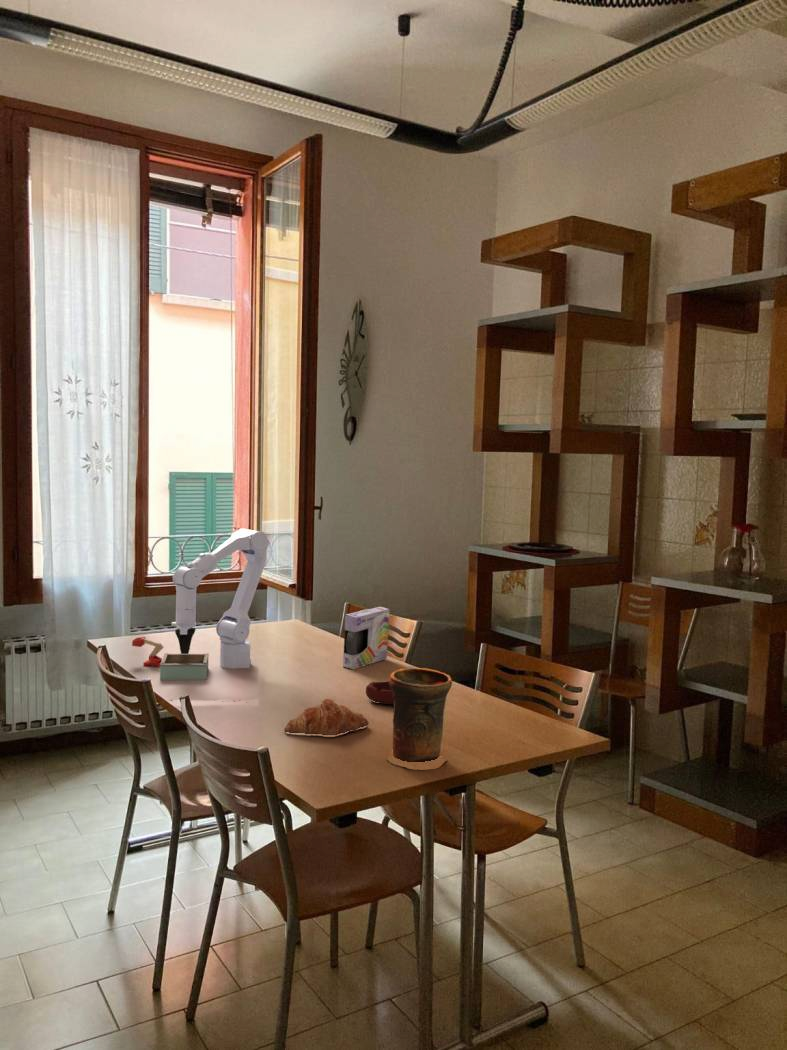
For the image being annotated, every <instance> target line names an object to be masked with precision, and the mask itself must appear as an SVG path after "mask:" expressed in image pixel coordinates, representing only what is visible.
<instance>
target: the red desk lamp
mask: <svg viewBox="0 0 787 1050" xmlns="http://www.w3.org/2000/svg"><path fill="white" fill-rule="evenodd" d="M131 642H132V643H131V644H132V645H131V647H137V648H138V647H139V648H141V647H143V646H144V645H145V644H147V645H150V646H154V648H153V650H151V653H150V654H149V655H148V660H146V661H144V662H143V667H153V668H156V667H157V668H160V664H161V661H162V659H163V657H160V656H158V653H160V652H161V651H162V650H163V649H164V645H162V643H161V642H155V641H153V640H151V639H150V640H149V639H146V636H141V637H136V638H134V639H132V641H131Z"/></svg>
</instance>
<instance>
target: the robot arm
mask: <svg viewBox="0 0 787 1050" xmlns="http://www.w3.org/2000/svg"><path fill="white" fill-rule="evenodd" d="M269 545H270V539H269V537H268V536H267V534H266V533H265V532H264V531H262V530H253V529H248V528H245V527H241V528H240V529H239V528H238V530H237V531H235V532H233V533H232V534H231V536H230V537H229V538H228V539H227V540H225V541H224V542H223V543H222V544H220V545H219V546H218V547H217V548H216V549H214V550H213V551H212V552H204V553H203V552H201V553H199V555H198V557H197V558H195V559H194V560H193V561H191V562H190V561H189V562H187V564H186V566H180V567H178V568H177V569H176V571H175V572H174V574H173V576H172V582H173V583H174V586H175V590H176V592H175V595H176V596H175V598H176V599H175V621H171V626H175V627H176V629H175V631H174V634H175V636H176V637H177V640H178V643H179V650H180V654H190V653H189V652H190V649H191V643H192V639H193V636H194V635H195V633H196V628H195V627H196V626H197V622H196V620H197V619H196V617H197V616H196V615H197V613H196V612H197V610H196V609H197V588H198V586H199V585H201V581H202V580H203V578H205V577H206V576H208V575H209V574H210V573H212V572H213V571H214V570H216V569H217V568H218V563H219V562H221V561H222V560H223V559H225V558H227V557H228V556H230V555H232V554H234V553H235V552H237V551H240V552H241V553H242V554H243V555H244V557H245V558H246V565H245V567H244V570H243V573H242V575H241V578H240V582H239V584H238V585H237V586H238V587H237V588H236V592H235V595H234V598H233V601H232V604H231V606H230V607H229V609H228V610H226V611H224V612H223V613H222V617H221V618H220V619H219V621H218V622H217V624H216V627H215V631H216V634H217V636H219V640H220V653H219V654H220V655H219V658H220V659H219V666H220V667H221V668H224V669H233V670H234V669H250V668H251V667H250V666H251V665H252V659H251V641H248V640H247V639H248V638H249V635H250V626H251V623H252V621H251V618H250V616H249V614H248V613H249V610H250V608H251V605H252V602H253V599H254V597H255V594H256V592H257V591H256V590H257V588H258V585H259V583H260V580H261V576H262V575H263V574H262V573H263V572H264V568H265V566H266V563H267V553H268V551H267V550H268V548H269Z"/></svg>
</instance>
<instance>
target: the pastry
mask: <svg viewBox="0 0 787 1050" xmlns="http://www.w3.org/2000/svg"><path fill="white" fill-rule="evenodd" d="M367 725H368V726H369V721H368V720H367V718H366V717H365V716H364V715H363V714H362V713H359V712H355V711H352V710H351V709H350V708H348V707H347V706H346V705H342V704H341V705H338V703H336V702H335V701H334V700H333V699H331V698H325V699H323V700H322V701H321V703H320V705H317V706H313V707H308V708H305V709H304V710H303V711H302V712H301V713H300V714H298V716H297V717H295V718H293V719H290V720H289V721H288V722H286V725H285V727H284V729H283V732H284V731H285V732H289V733H305V734H322V735H337V734H340V733H345V732H347V731H350V730H356V729H358V728H360V727H364V726H367ZM368 726H367V727H368ZM285 732H284V733H285Z"/></svg>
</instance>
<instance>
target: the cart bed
mask: <svg viewBox="0 0 787 1050" xmlns="http://www.w3.org/2000/svg"><path fill="white" fill-rule="evenodd" d="M161 664H207V666H206V678H207V676H208V671H209V653H188V654H181V653H164V655H163V656H162V661H161Z"/></svg>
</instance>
